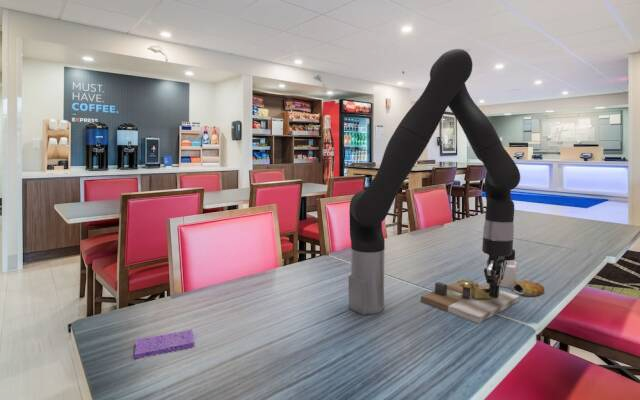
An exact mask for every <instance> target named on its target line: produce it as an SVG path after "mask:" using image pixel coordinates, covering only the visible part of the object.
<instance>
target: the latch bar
mask: <svg viewBox="0 0 640 400" xmlns="http://www.w3.org/2000/svg"><path fill="white" fill-rule="evenodd" d="M459 281H460V286H461V287H464V288H471V296H473V297H474V298H475V299H478V298H493V297H490V296H489V288H490V284H485V285H484V284H479V283H478V282H477V281H475V280H474V281H472V280H468V279H461V280H459ZM499 290H500V287H499ZM497 298H499V296H498V297H497Z"/></svg>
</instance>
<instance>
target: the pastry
mask: <svg viewBox="0 0 640 400" xmlns="http://www.w3.org/2000/svg"><path fill="white" fill-rule="evenodd" d="M510 289H511V291H512V292H513V293H515V294H516V295H517V294H518V295H520V296H522V297H533V296H534V297H537V296H540V295H543V294H544V292H545V287H544V286H543V285H541V284H540V283H539V282H534V281H529V280H525V279H524V280H516V282H514V284H513V285H512V286H511V288H510Z"/></svg>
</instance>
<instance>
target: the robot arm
mask: <svg viewBox="0 0 640 400" xmlns="http://www.w3.org/2000/svg"><path fill="white" fill-rule="evenodd" d="M472 71H473V59H472V57H471V55H470V54H469V52H468V51H466V50H464V49H460V48H454V49H449V50H448V51H446V52H444V53H442V55H441V56H439V57H438V58H437V60H436V61H435V62H434V63H433V64H432V66H431V69H430V71H429V78H430V79H429V81H428V83H427V85H426V87H425V88H424V90H423V92H422V93H421V94H420V96H419V98H418V99H417V100H416V102H415V103H414V104H413V105H412V106H411V107H410V108H409V110H408V111H407V113H406V114H405V115H404V117H403V118H402V119H401V121H400V122H399V123H398V125H397V127H396V128H395V130H394V132H393V134H392V135H391V137H390V139H389V141H388V142H387V145H386V147H385V149H384V152H383V156H382V159H381V162H380V164H379V168H378V170H377V172H376V174H375V176H374V178H372V180H371V182H370V184H369V185H368V186H367V187H366V189H364V190H363V189H362V190H359V191H358V192H356V193H355V194H354V195H353V196H352V197H351V200H350V202H349V236H350V237H349V239H350V275H348V309H351V310H352V311H355V312H357V313H359V314H360V315H372V314H373V315H374V314H378V313H381V312H383V311H384V308H385V238H384V237H385V236H384V233H383V222H384V220H385V219H386V218H387V216H388V214H389V212H390V210H391V208H392V205H393V204H394V201H395V199H396V197H397V195H398V193H399V191H400V188H401V186H402V185H403V184H404V182H405V180H406V179H407V178H408V176H409V174H410V173H411V172H412V169H413V168H414V167H415V165H416V163H417V162H418V161H419V160H420V157H421V156H422V154H423V153H424V151H425V149H426V147H427V146H428V145H429V143H430V141H431V139H432V137H433V136H434V134H435V131H436V130H437V128H438V126H439V124H440V122H441V120H442V119H443V116H444V114H445V112H446V111H447V108H449V109H450V111H451V112H452V114H453V116H454V117H455V119H456V120H457V123H458V124H459V125H460V127H461V129H462V130H463V131H462V132H463V134H464V135H465V137H466V139H467V141H468V143H469V145H470V147H471V148H472V150H473V152H474V153H473V154H474V155H475V157H476V158H477V159H478V160H479V161H480V162H481V163H482V164H483V165H484V167H485V169H486V172H485V176H484V191H485V200H486V205H485V215H484V216H485V217H484V218H485V219H484V225H483V234H482V247H481V251H482V252H483V253H484V254H486V255H488V259H487V260H486V266H487V267H485V268H484V269H483V274H484V277H485V281H486V283H487V284H488V285H490V288H489V296H490V297H493V298H497V297H498V296H499V290H500V289H499V288H500V287H501V286H500V284H501V280H503V276H504V272H505V269H506V265H507V261H506V260H504V258H505V257H504V256H510V255H511V254H512V249H513V247H514V246H513V245H514V234H515V233H514V232H515V227H514V226H515V225H514V219H515V218H514V217H515V203H514V201H513V200H512V197H511V196H512V195H511V192H512V190H515V188H517V187H518V185H519V184H520V182H521V173H520V169H519V167H518V165H517V164H516V162H515V161H514V159H513V158H512V156H511V155H510V154H509V153H508V151H507V150H506V149H505V147H504V146H503V143H502V141H501V139H500V136H499V135H498V133H497V131H496V129H495V127H494V125H493V123H492V122H491V121H490V119H489V118H488V117H487V115H486V114H485V113H484V112H483V111H482V110H481V109H480V107H479V106H478V105H477V104H476V103H475V101H474V100H473V99H472V96H471V95H470V93H469V92H468V88H467V86H466V83H467V81H468V80H469V79H470V76H471V74H472ZM513 250H514V249H513Z"/></svg>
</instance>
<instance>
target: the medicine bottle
mask: <svg viewBox="0 0 640 400" xmlns="http://www.w3.org/2000/svg"><path fill="white" fill-rule="evenodd" d="M504 257H505V258H504V260H506V261H507V265H506V269H505V272H504V276H503V280H501V284H500V286H499V287H501V288H508V289H511V286H512V285H513V284H514V282H517V272H518V262H517V261H515V260H516V259H515V258H516V250H515V249H512V254H511V255H510V256H504Z"/></svg>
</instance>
